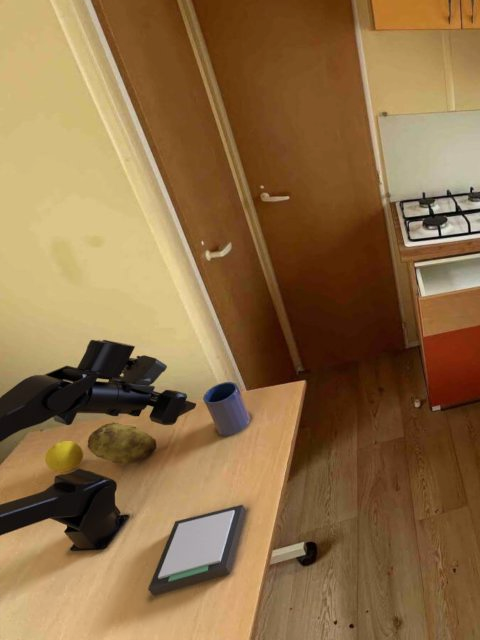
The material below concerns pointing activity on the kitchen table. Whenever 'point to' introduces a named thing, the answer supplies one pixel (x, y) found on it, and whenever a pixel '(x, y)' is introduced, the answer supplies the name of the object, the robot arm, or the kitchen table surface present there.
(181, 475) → the kitchen table surface
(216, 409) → the cup
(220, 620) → the kitchen table surface
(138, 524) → the kitchen table surface
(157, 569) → the scale
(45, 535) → the kitchen table surface
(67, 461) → the lemon
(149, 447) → the potato
